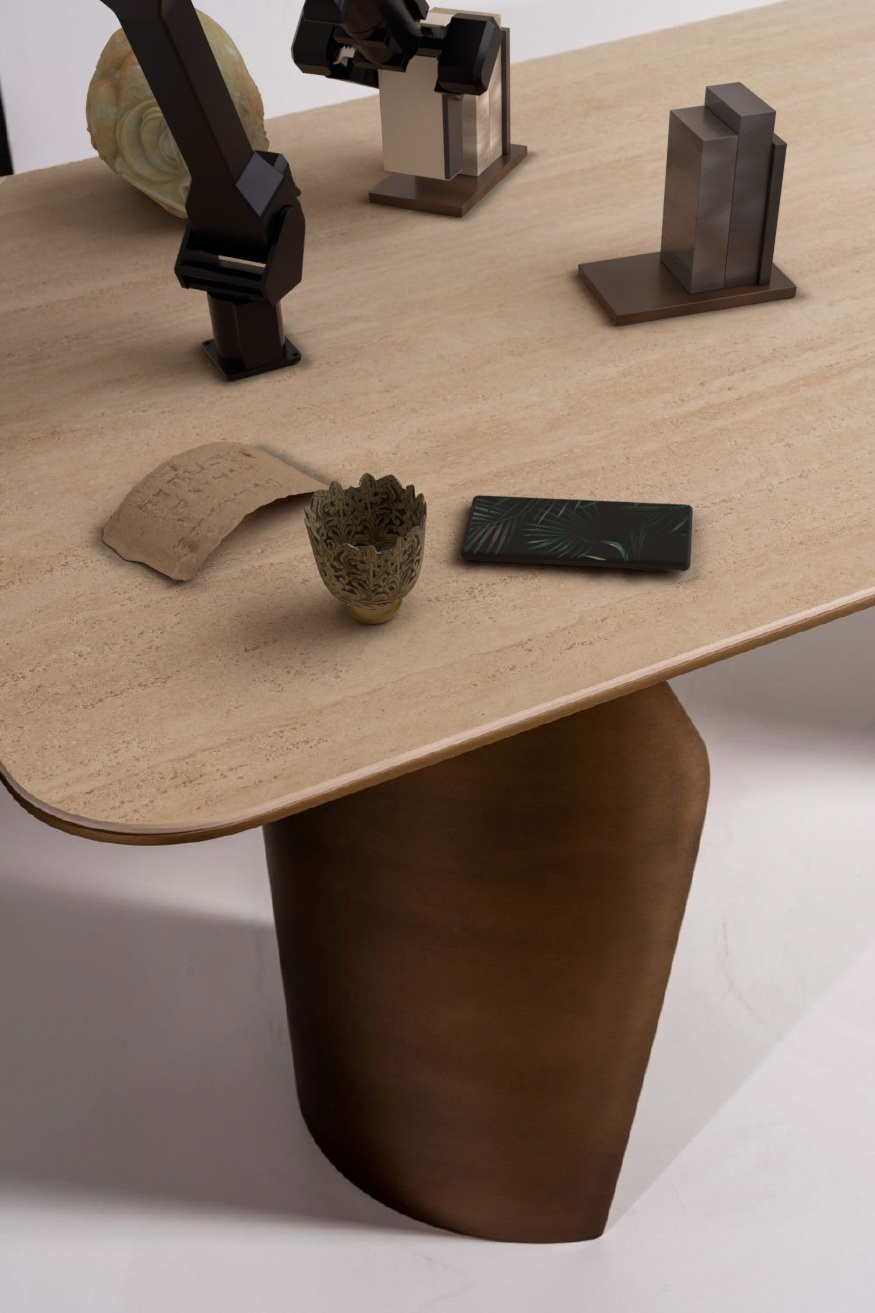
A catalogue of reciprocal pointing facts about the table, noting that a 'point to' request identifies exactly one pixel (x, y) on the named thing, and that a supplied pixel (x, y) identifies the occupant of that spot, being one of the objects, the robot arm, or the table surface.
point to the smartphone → (579, 533)
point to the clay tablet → (198, 504)
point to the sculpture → (159, 117)
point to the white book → (420, 118)
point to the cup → (368, 543)
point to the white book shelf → (444, 189)
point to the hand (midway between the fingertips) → (427, 90)
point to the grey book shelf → (707, 217)
